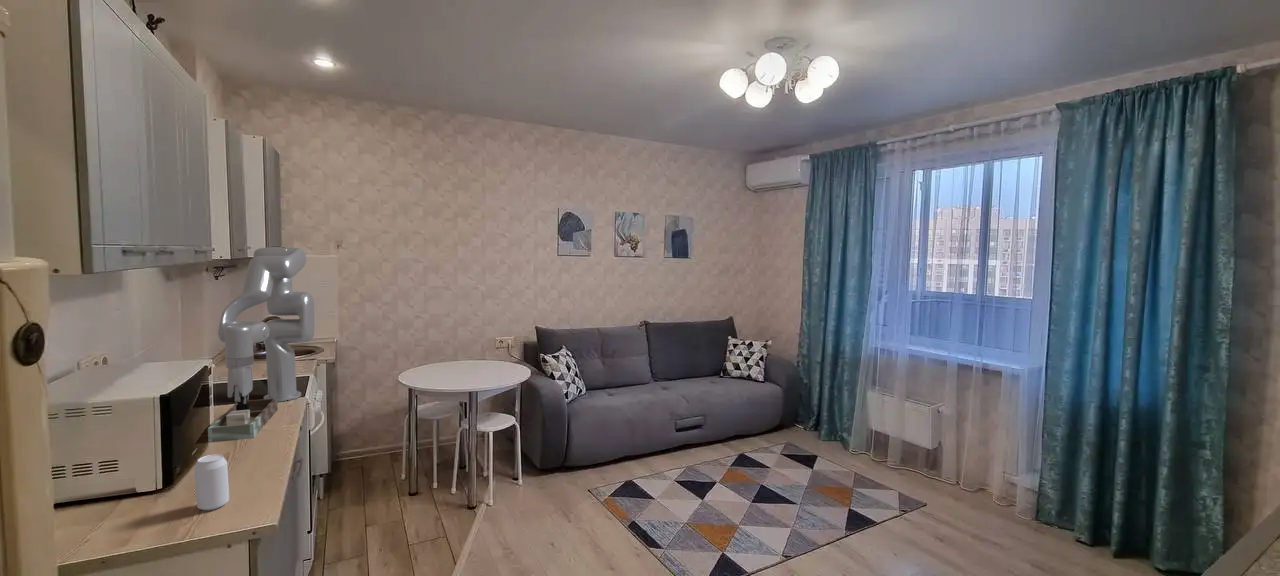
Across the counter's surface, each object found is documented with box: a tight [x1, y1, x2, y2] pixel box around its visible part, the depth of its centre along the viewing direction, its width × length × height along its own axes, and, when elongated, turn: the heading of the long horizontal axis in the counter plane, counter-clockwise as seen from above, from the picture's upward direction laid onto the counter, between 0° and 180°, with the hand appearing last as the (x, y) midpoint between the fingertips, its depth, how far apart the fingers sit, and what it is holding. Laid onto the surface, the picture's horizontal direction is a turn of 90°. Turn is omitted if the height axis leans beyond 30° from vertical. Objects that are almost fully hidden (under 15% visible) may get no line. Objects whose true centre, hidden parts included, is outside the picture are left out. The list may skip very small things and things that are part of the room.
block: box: [226, 410, 250, 426], centre depth 181 cm, size 5×5×4 cm
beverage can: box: [193, 453, 230, 511], centre depth 131 cm, size 6×6×12 cm
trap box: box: [207, 398, 279, 443], centre depth 187 cm, size 30×12×4 cm, turn 21°
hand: (243, 415), depth 185 cm, fingers closed
